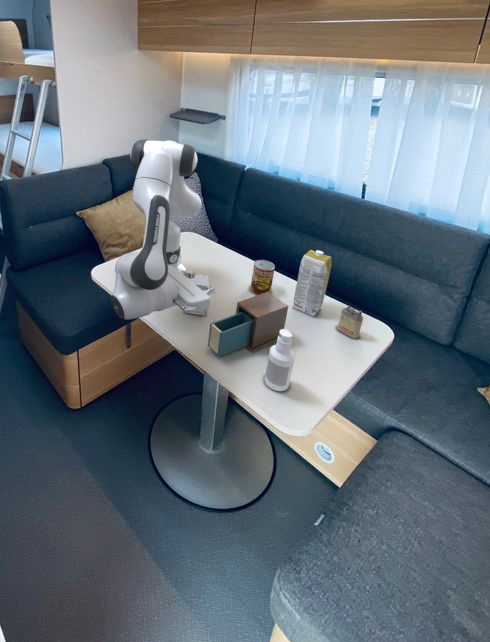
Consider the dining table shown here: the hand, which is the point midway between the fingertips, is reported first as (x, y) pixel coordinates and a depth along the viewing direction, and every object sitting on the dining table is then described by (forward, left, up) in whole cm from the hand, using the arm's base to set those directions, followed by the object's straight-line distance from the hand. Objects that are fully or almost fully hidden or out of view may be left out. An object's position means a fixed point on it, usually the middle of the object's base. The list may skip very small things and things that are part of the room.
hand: (203, 281), depth 125 cm
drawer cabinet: (+5, +22, -25) cm, 34 cm away
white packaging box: (-17, +12, -25) cm, 33 cm away
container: (+5, +10, -24) cm, 26 cm away
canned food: (-15, +43, -25) cm, 52 cm away
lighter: (+18, +52, -25) cm, 61 cm away
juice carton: (+2, +50, -25) cm, 56 cm away
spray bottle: (+23, +12, -25) cm, 36 cm away
